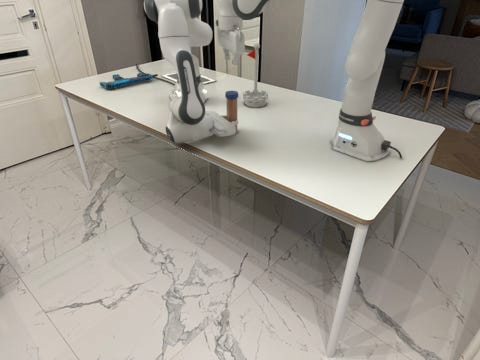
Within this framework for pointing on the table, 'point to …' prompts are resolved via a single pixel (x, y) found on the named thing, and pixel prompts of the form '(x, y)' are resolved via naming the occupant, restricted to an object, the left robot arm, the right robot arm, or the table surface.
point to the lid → (231, 94)
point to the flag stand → (255, 85)
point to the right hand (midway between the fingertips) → (231, 62)
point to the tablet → (174, 75)
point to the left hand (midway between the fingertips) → (233, 119)
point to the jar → (232, 111)
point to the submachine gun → (126, 80)
